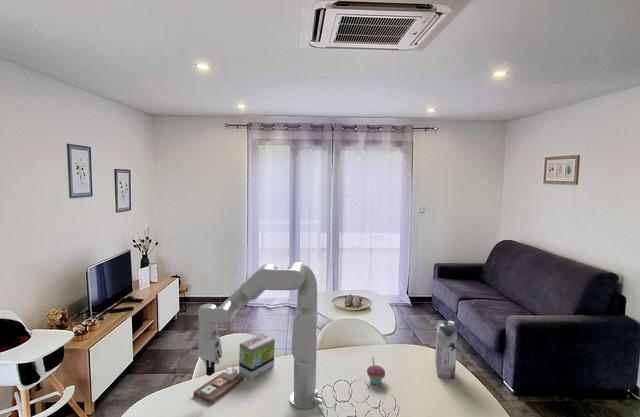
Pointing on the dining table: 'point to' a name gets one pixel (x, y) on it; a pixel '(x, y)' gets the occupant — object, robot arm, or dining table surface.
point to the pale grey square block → (208, 390)
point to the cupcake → (375, 373)
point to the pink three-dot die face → (219, 383)
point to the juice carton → (446, 349)
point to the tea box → (256, 355)
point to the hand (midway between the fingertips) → (210, 374)
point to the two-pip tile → (230, 373)
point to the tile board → (220, 391)
